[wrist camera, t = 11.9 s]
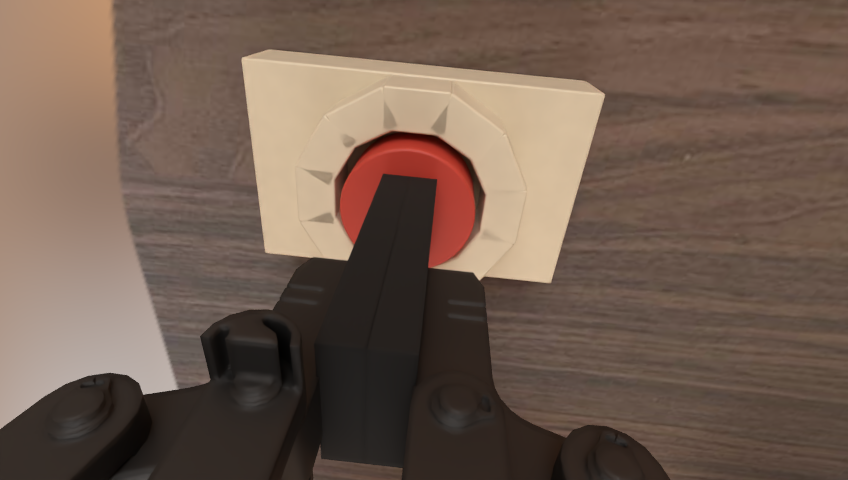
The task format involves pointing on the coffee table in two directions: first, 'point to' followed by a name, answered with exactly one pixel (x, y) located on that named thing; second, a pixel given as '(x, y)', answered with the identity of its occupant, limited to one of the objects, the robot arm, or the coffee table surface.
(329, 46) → the coffee table surface
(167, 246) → the coffee table surface
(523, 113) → the beige button housing
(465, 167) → the bell button
